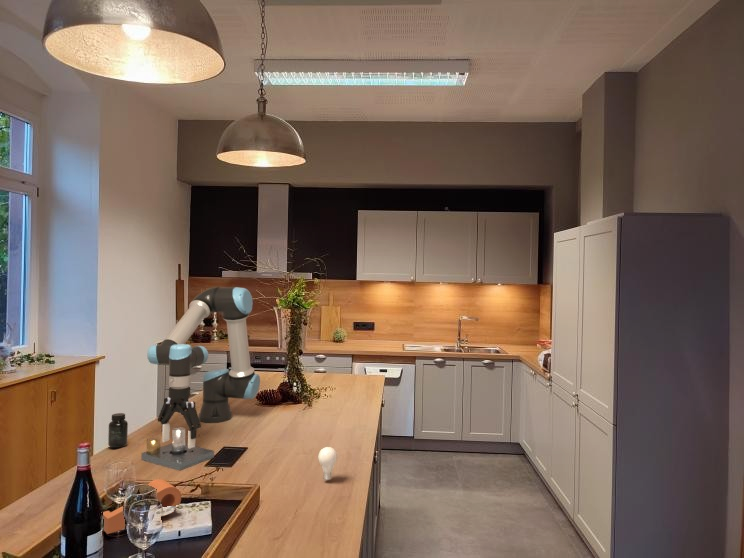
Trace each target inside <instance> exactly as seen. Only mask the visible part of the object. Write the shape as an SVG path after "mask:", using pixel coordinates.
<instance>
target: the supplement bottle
mask: <svg viewBox="0 0 744 558" xmlns="http://www.w3.org/2000/svg"><path fill="white" fill-rule="evenodd" d="M128 425H129V423H128V421H127V420H126V413H123V412H122V413H121V412H118V413H113V414H111V421H110V422H109V423H108V435H107V437H108V439H107V440H108V441H107V443H108V444H107V445H108V446H109V447H110V448H121V447H124V446H126V445H127V444H128V430H129V429H128Z"/></svg>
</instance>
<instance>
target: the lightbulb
mask: <svg viewBox="0 0 744 558" xmlns="http://www.w3.org/2000/svg"><path fill="white" fill-rule="evenodd" d="M317 458H318V461H319V464H320V466H321V468H322V471H323V477H322V479H323V480H325V481H326V482H327V481H330V480H331V479H332V472H333V468H334V466H335V464H336V463H337V460H338V453H337V451H336V449H334V448H333V447H331V446H326V447H323V448H321V450H319V452H318V457H317Z"/></svg>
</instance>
